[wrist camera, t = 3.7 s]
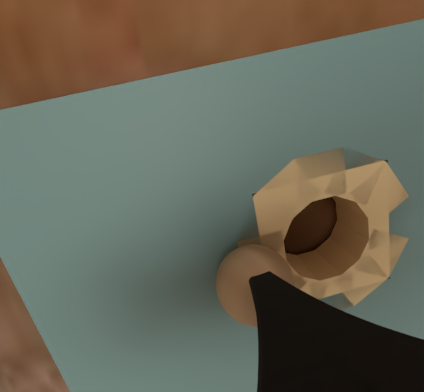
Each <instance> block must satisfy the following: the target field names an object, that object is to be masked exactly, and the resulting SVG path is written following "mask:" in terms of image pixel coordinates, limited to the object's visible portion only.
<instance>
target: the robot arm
mask: <svg viewBox="0 0 424 392" xmlns="http://www.w3.org/2000/svg"><path fill="white" fill-rule="evenodd" d="M249 285H250V289H251V293H252V297H253V301H254V306H255V311H256V317H257V328H258V383H257V392H424V339H420V338H417V337H413V336H410V335H407V334H404V333H401V332H398V331H395V330H392V329H389V328H386V327H382V326H380V325H377V324H374V323H371V322H369V321H366V320H364V319H361V318H359V317H356V316H354V315H351V314H349V313H346V312H344V311H342V310H339V309H337V308H335V307H333V306H331V305H329V304H327V303H325V302H323V301H321V300H319V299H317V298H315V297H313V296H311V295H309V294H307V293H305V292H304V291H302V290H300V289H298V288H296V287H295V286H293V285H291V284H290V283H288V282H286V281H285V280H283V279H281V278H280V277H278V276H277V275H275V274H273V273H272V272H270V271H268V272H265V273H263V274H260V275H257V276H253V277H250V279H249Z"/></svg>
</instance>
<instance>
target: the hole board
mask: <svg viewBox="0 0 424 392" xmlns="http://www.w3.org/2000/svg"><path fill="white" fill-rule="evenodd" d="M328 197H332V198H333V200H334V201H335V202H336V214H337V221H336V223H335V226H334V228H333V230H332V232H331V235H330V237H329V238H328V239H327V240H326V241H325V242H323V243H322V244H321V245H320V246H319V247H318V248H317V249H315V250H313V251H310V252H306V253H302V254H299V255H294V254H290V253H286V252H285V247H284V239H285V236H286V234H287V231H288V229H289V226H290V224H291V221H292V219H293V218H294V217H295V216H296V215H297V214H298V213H300V212H301V211H302V210H303V209H304V208H305V207H306V206H307V205H309V204H310V203H311V202H313V201H317V200H321V199H324V198H328ZM250 244H256V245H262V246H266V247H269V248H271V249H273V250H274V251H276V252H277V253H279V254H280V255H281V256H282V257H283V258H284V259H285V261H286V262H287V263H288V265H289V266H290V268H291V270H292V273H293V276H294V281H295V287H296V288H298V289H300V290H302V291H304V292H305V293H307V294H309V295H311V296H313V297H315V298H317V299H319V300H321V301H323V302H325V303H327V304H329V305H331V306H333V307H335V308H337V309H339V310H342V311H344V312H346V313H349V314H351V315H354V316H356V317H359V318H361V319H364V320H366V321H369V322H371V323H374V324H377V325H380V326H382V327H386V328H389V329H392V330H395V331H398V332H401V333H404V334H407V335H410V336H413V337H417V338H420V339H424V19H421V20H416V21H412V22H407V23H403V24H398V25H393V26H389V27H384V28H379V29H375V30H370V31H365V32H361V33H356V34H351V35H347V36H342V37H337V38H333V39H328V40H323V41H319V42H314V43H310V44H305V45H300V46H296V47H291V48H286V49H282V50H277V51H272V52H268V53H263V54H258V55H254V56H249V57H244V58H240V59H235V60H231V61H226V62H221V63H217V64H212V65H207V66H203V67H198V68H193V69H189V70H184V71H179V72H175V73H170V74H165V75H161V76H156V77H151V78H147V79H142V80H138V81H133V82H128V83H124V84H119V85H114V86H110V87H105V88H100V89H96V90H91V91H86V92H82V93H77V94H72V95H68V96H63V97H58V98H54V99H49V100H45V101H40V102H35V103H31V104H26V105H21V106H17V107H12V108H7V109H3V110H0V257H1V259H2V261H3V263H4V265H5V267H6V269H7V271H8V273H9V275H10V277H11V279H12V281H13V283H14V284H15V286H16V288H17V290H18V292H19V294H20V296H21V298H22V300H23V302H24V304H25V306H26V308H27V309H28V311H29V313H30V315H31V317H32V319H33V321H34V323H35V325H36V327H37V329H38V331H39V333H40V335H41V336H42V338H43V340H44V342H45V344H46V346H47V348H48V350H49V352H50V354H51V356H52V358H53V360H54V361H55V363H56V365H57V367H58V369H59V371H60V373H61V375H62V377H63V379H64V381H65V383H66V385H67V387H68V388H69V390H70V392H257V383H258V328H257V327H251V326H247V325H244V324H241V323H239V322H237V321H236V320H234V319H233V318H232V317H231V316H229V315H228V313H227V312H226V311H225V310H224V308H223V307H222V305H221V303H220V301H219V299H218V296H217V291H216V276H217V272H218V269H219V266H220V264H221V262H222V261H223V260H224V258H225V257H226V256H227V255H228V254H229V253H230V252H232V251H233V250H235V249H237V248H239V247H241V246H244V245H250Z"/></svg>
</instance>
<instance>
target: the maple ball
mask: <svg viewBox="0 0 424 392" xmlns="http://www.w3.org/2000/svg"><path fill="white" fill-rule="evenodd" d="M268 271H270V272H272V273H273V274H275V275H277V276H278V277H280V278H281V279H283V280H285V281H286V282H288V283H290V284H291V285H293V286H295V281H294V276H293V273H292V270H291V268H290V266H289V265H288V263H287V262H286V261H285V259H284V258H283V257H282V256H281V255H280V254H279V253H277V252H276V251H274V250H273V249H271V248H269V247H266V246H262V245H256V244H250V245H244V246H241V247H239V248H237V249H235V250H233V251H232V252H230V253H229V254H228V255H227V256H226V257H225V258H224V260H223V261H222V262H221V264H220V266H219V269H218V272H217V276H216V291H217V296H218V299H219V301H220V303H221V305H222V307H223V308H224V310H225V311H226V312H227V313H228V315H229V316H231V317H232V318H233V319H234V320H236V321H237V322H239V323H241V324H244V325H247V326H251V327H257V317H256V311H255V306H254V301H253V297H252V293H251V289H250V285H249V279H250V277H253V276H257V275H260V274H263V273H265V272H268Z"/></svg>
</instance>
